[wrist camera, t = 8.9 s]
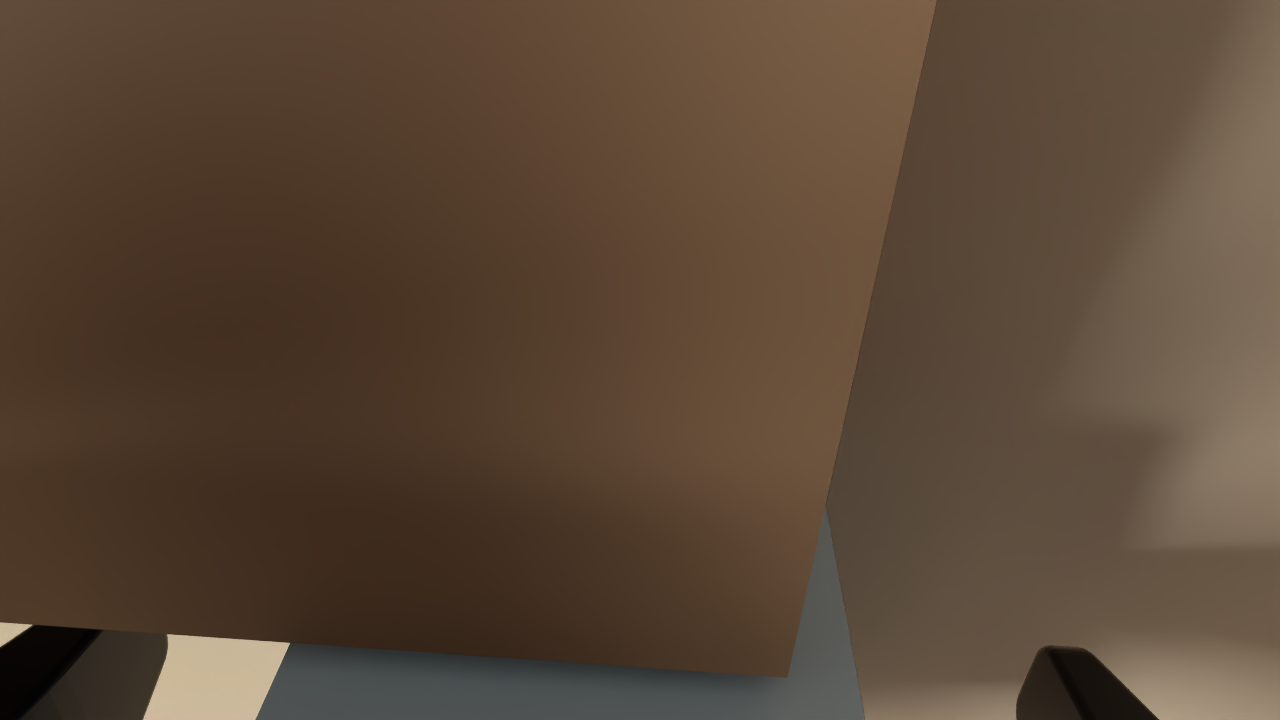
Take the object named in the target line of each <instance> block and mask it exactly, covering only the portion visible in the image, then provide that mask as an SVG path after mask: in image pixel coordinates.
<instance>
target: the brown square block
mask: <svg viewBox="0 0 1280 720" xmlns="http://www.w3.org/2000/svg"><path fill="white" fill-rule="evenodd" d="M936 2H937V0H0V622H3V623H18V624H32V625H46V626H60V627H74V628H89V629H103V630H117V631H131V632H145V633H160V634H174V635H188V636H202V637H216V638H231V639H245V640H259V641H273V642H287V643H302V644H316V645H330V646H344V647H358V648H373V649H387V650H401V651H415V652H429V653H444V654H458V655H472V656H486V657H500V658H515V659H529V660H543V661H557V662H571V663H586V664H600V665H614V666H628V667H642V668H657V669H671V670H685V671H699V672H713V673H728V674H742V675H756V676H770V677H784V678H788V673H789V669H790V664H791V660H792V655H793V651H794V646H795V642H796V637H797V633H798V628H799V624H800V619H801V614H802V610H803V605H804V601H805V596H806V592H807V587H808V583H809V578H810V574H811V569H812V565H813V560H814V556H815V551H816V546H817V542H818V537H819V533H820V528H821V524H822V519H823V515H824V510H825V506H826V501H827V497H828V492H829V487H830V483H831V478H832V474H833V469H834V465H835V460H836V456H837V451H838V447H839V442H840V438H841V433H842V429H843V424H844V419H845V415H846V410H847V406H848V401H849V397H850V392H851V388H852V383H853V379H854V374H855V370H856V365H857V360H858V356H859V351H860V347H861V342H862V338H863V333H864V329H865V324H866V320H867V315H868V311H869V306H870V302H871V297H872V292H873V288H874V283H875V279H876V274H877V270H878V265H879V261H880V256H881V252H882V247H883V243H884V238H885V234H886V229H887V224H888V220H889V215H890V211H891V206H892V202H893V197H894V193H895V188H896V184H897V179H898V175H899V170H900V165H901V161H902V156H903V152H904V147H905V143H906V138H907V134H908V129H909V125H910V120H911V116H912V111H913V107H914V102H915V97H916V93H917V88H918V84H919V79H920V75H921V70H922V66H923V61H924V57H925V52H926V48H927V43H928V38H929V34H930V29H931V25H932V20H933V16H934V11H935V7H936Z"/></svg>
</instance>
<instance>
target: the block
mask: <svg viewBox="0 0 1280 720" xmlns="http://www.w3.org/2000/svg"><path fill="white" fill-rule="evenodd" d="M256 720H865V716H864V711H863V705H862V700H861V694H860V689H859V683H858V678H857V672H856V667H855V661H854V656H853V651H852V645H851V640H850V634H849V629H848V623H847V618H846V612H845V607H844V601H843V596H842V590H841V585H840V579H839V574H838V568H837V563H836V558H835V552H834V547H833V541H832V536H831V530H830V525H829V519H828V514H827V508H826V506H825V510H824V515H823V519H822V524H821V528H820V533H819V537H818V542H817V546H816V551H815V556H814V560H813V565H812V569H811V574H810V578H809V583H808V587H807V592H806V596H805V601H804V605H803V610H802V614H801V619H800V624H799V628H798V633H797V637H796V642H795V646H794V651H793V655H792V660H791V664H790V669H789V673H788V678H784V677H770V676H756V675H742V674H728V673H713V672H699V671H685V670H671V669H657V668H642V667H628V666H614V665H600V664H586V663H571V662H557V661H543V660H529V659H515V658H500V657H486V656H472V655H458V654H444V653H429V652H415V651H401V650H387V649H373V648H358V647H344V646H330V645H316V644H302V643H290V645H289V647H288V650H287V652H286V654H285V656H284V658H283V661H282V663H281V665H280V667H279V669H278V672H277V674H276V676H275V678H274V680H273V683H272V685H271V687H270V689H269V691H268V694H267V696H266V698H265V700H264V702H263V705H262V707H261V709H260V711H259V713H258V716H257V718H256Z"/></svg>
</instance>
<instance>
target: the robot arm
mask: <svg viewBox="0 0 1280 720" xmlns="http://www.w3.org/2000/svg"><path fill="white" fill-rule="evenodd" d="M167 649H168V638H167V634H160V633H145V632H131V631H117V630H103V629H89V628H74V627H60V626H46V625H32V626H31V627H29V628H28V629H26V630H25V631H23V632H22V633H20V634H19V635H17V636H16V637H14V638H13V639H12V640H10V641H9V642H7V643H6V644H4V645H3V646H1V647H0V720H143V718H144V715H145V713H146V710H147V707H148V705H149V702H150V699H151V697H152V694H153V692H154V689H155V686H156V684H157V681H158V678H159V676H160V673H161V670H162V668H163V665H164V662H165V659H166V655H167ZM1016 719H1017V720H1159V719H1158V718H1157V717H1156V716H1155V715H1154V714H1153V713H1152V712H1151V711H1150V710H1149V709H1148V708H1147V707H1146V706H1145V705H1144V704H1143V703H1142V702H1141V701H1140V700H1139V699H1138V698H1137V697H1136V696H1135V695H1134V694H1133V693H1132V692H1131V691H1130V690H1129V689H1128V688H1127V687H1126V686H1125V685H1124V684H1123V683H1122V682H1121V681H1120V680H1119V679H1118V678H1117V677H1116V676H1115V675H1114V674H1113V673H1112V672H1111V671H1110V670H1109V669H1108V668H1107V667H1106V666H1105V665H1104V664H1103V663H1102V662H1101V661H1100V660H1099V659H1098V658H1097V657H1095V656H1094V655H1093V654H1092V653H1090V652H1089V651H1087V650H1085V649H1083V648H1078V647H1066V646H1052V645H1048V646H1044V647H1043V648H1041V649H1040V650H1039V651H1038V653H1037V654H1036V656H1035V659H1034V661H1033V663H1032V665H1031V668H1030V670H1029V672H1028V675H1027V677H1026V679H1025V681H1024V684H1023V686H1022V688H1021V691H1020V693H1019V696H1018V699H1017V704H1016Z"/></svg>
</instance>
